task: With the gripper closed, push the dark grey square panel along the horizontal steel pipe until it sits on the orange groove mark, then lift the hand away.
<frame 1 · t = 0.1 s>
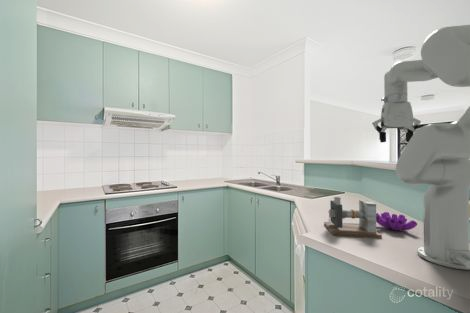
hand: (396, 141, 86), 37 cm above the countertop, fingers open, 9 cm apart
dark grey square panel: (336, 213, 88), point 7 cm above the countertop, slide at 0.0 cm
flask: (337, 217, 109), on the countertop
pipe stand: (350, 230, 87), on the countertop
purple lumpy piece: (391, 229, 90), on the countertop
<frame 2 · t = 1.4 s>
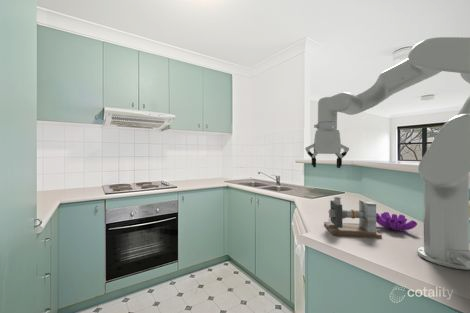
hand: (326, 167, 90), 26 cm above the countertop, fingers open, 9 cm apart
nothing on the countertop moved.
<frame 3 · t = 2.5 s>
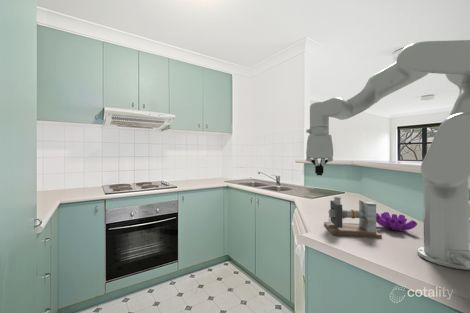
hand: (319, 175, 89), 23 cm above the countertop, fingers closed
nothing on the countertop moved.
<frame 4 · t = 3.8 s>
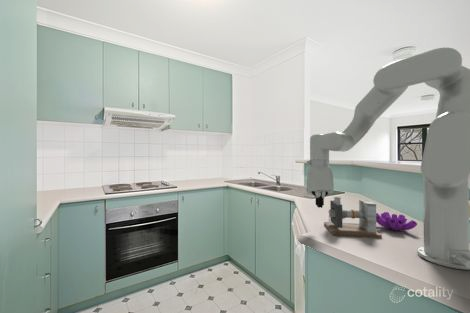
hand: (319, 206, 89), 10 cm above the countertop, fingers closed
nothing on the countertop moved.
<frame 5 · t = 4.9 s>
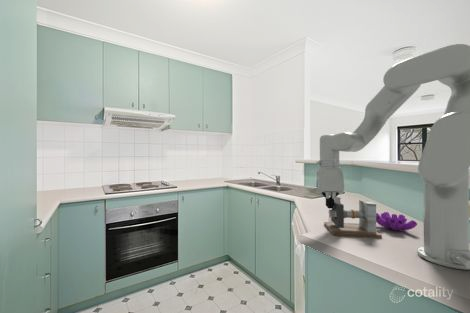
hand: (329, 207, 88), 9 cm above the countertop, fingers closed
dark grey square panel: (337, 213, 88), point 7 cm above the countertop, slide at 0.6 cm, touching gripper
everything else where it was.
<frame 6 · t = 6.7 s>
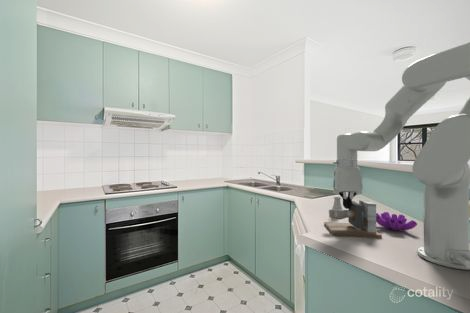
hand: (347, 208, 87), 9 cm above the countertop, fingers closed
dark grey square panel: (355, 214, 87), point 7 cm above the countertop, slide at 7.3 cm, touching gripper
everything else where it was.
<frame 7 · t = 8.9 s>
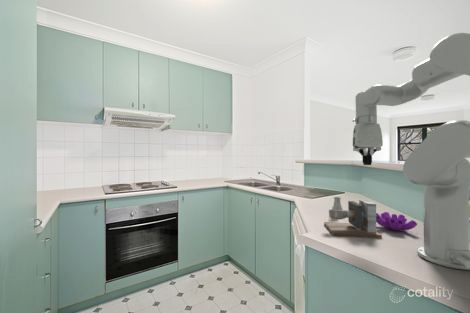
hand: (367, 164, 88), 27 cm above the countertop, fingers closed
dark grey square panel: (355, 214, 87), point 7 cm above the countertop, slide at 7.3 cm
everything else where it was.
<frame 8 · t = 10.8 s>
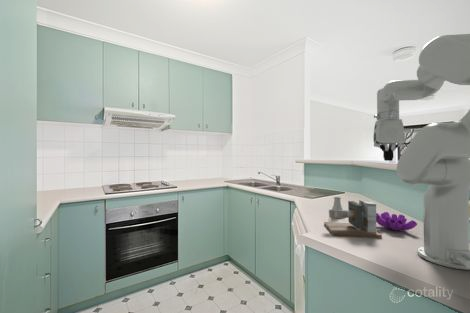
hand: (388, 160, 89), 29 cm above the countertop, fingers closed
nothing on the countertop moved.
at the end: dark grey square panel slide at 7.3 cm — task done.
